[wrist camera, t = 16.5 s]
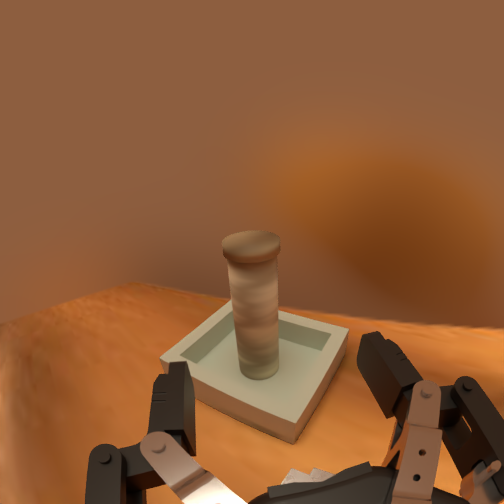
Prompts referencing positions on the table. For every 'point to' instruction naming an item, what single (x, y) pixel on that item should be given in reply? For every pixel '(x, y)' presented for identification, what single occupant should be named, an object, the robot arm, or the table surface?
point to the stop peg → (254, 300)
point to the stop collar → (306, 476)
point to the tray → (268, 390)
